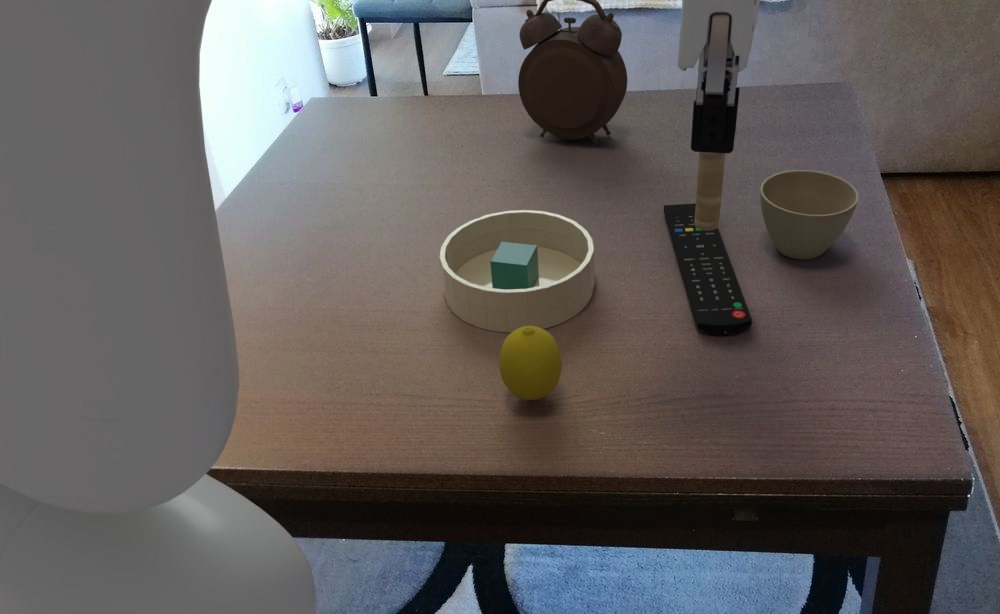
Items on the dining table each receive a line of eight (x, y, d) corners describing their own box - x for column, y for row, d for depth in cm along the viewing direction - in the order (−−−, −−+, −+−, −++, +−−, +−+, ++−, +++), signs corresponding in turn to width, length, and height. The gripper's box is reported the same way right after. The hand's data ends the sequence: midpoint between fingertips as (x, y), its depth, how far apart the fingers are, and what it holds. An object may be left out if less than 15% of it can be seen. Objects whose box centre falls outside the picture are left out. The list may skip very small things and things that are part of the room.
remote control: (707, 212, 105) (708, 202, 104) (752, 334, 85) (753, 323, 85) (663, 215, 105) (663, 205, 104) (697, 337, 86) (698, 326, 85)
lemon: (567, 380, 82) (564, 312, 77) (556, 421, 77) (553, 351, 73) (509, 375, 83) (504, 307, 78) (496, 414, 79) (489, 345, 74)
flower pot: (756, 271, 94) (764, 213, 90) (751, 224, 102) (757, 168, 98) (854, 274, 92) (866, 215, 88) (840, 226, 100) (851, 170, 96)
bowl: (576, 341, 86) (575, 300, 84) (423, 323, 91) (417, 283, 88) (606, 254, 99) (606, 216, 96) (470, 241, 103) (466, 204, 100)
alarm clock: (631, 132, 124) (633, -11, 113) (614, 154, 119) (615, 6, 107) (537, 120, 130) (530, -18, 118) (517, 140, 125) (508, -2, 113)
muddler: (718, 232, 72) (731, 80, 64) (693, 230, 72) (703, 79, 65) (719, 219, 73) (732, 70, 66) (695, 218, 74) (705, 69, 66)
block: (528, 297, 92) (526, 265, 90) (492, 292, 93) (490, 261, 91) (538, 276, 95) (537, 245, 93) (503, 272, 96) (501, 241, 94)
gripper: (687, -133, 65) (675, 101, 76) (662, -83, 53) (652, 188, 63) (792, -136, 63) (765, 104, 74) (792, -85, 51) (759, 195, 61)
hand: (713, 141), depth 68 cm, fingers closed on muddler, 2 cm apart
